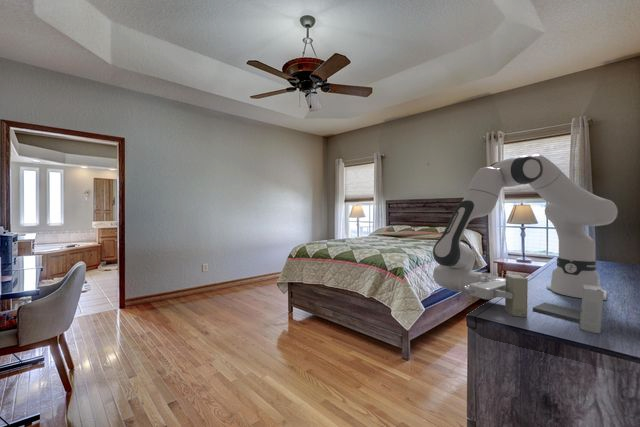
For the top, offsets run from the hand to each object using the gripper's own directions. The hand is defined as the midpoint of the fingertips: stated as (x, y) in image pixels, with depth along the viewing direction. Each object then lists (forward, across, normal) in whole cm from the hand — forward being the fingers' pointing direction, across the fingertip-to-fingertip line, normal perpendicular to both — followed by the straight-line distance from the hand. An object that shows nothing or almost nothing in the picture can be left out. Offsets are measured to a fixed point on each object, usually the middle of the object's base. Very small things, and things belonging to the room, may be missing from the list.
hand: (519, 294), depth 95 cm
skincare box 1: (-1, 0, +7) cm, 7 cm away
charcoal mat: (+7, +13, +6) cm, 16 cm away
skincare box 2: (+17, +5, +7) cm, 19 cm away
